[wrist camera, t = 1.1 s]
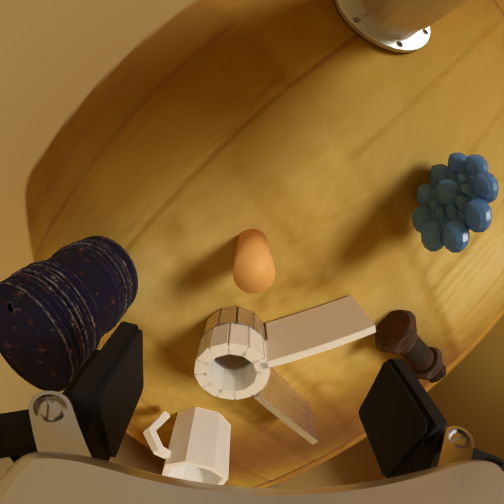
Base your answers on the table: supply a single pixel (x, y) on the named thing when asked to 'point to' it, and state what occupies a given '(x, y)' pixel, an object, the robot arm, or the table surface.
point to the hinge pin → (253, 262)
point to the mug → (194, 446)
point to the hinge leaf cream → (276, 346)
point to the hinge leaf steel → (277, 389)
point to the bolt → (409, 345)
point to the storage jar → (64, 309)
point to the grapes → (455, 202)
